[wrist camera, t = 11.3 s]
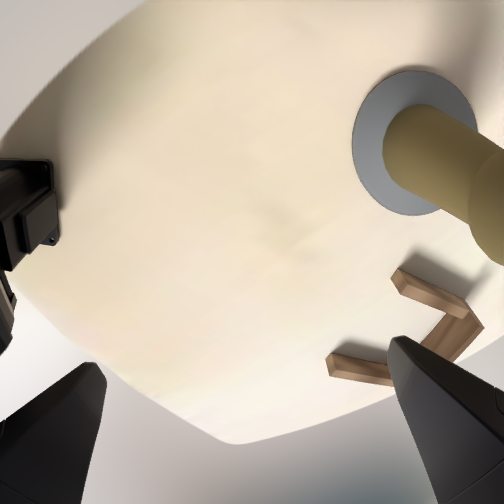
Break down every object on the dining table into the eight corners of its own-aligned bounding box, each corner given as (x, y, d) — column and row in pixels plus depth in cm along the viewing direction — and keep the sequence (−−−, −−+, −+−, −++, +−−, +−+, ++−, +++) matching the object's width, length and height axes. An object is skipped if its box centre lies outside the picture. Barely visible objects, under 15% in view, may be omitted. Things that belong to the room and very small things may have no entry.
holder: (325, 359, 28) (333, 393, 25) (397, 269, 23) (418, 301, 20) (398, 374, 31) (409, 402, 27) (464, 300, 26) (484, 327, 22)
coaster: (334, 197, 20) (336, 200, 20) (371, 48, 15) (374, 48, 15) (448, 224, 21) (451, 226, 21) (487, 103, 16) (491, 104, 16)
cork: (373, 185, 19) (471, 291, 10) (391, 93, 16) (526, 134, 7) (445, 197, 20) (545, 289, 10) (464, 117, 16) (590, 174, 7)
